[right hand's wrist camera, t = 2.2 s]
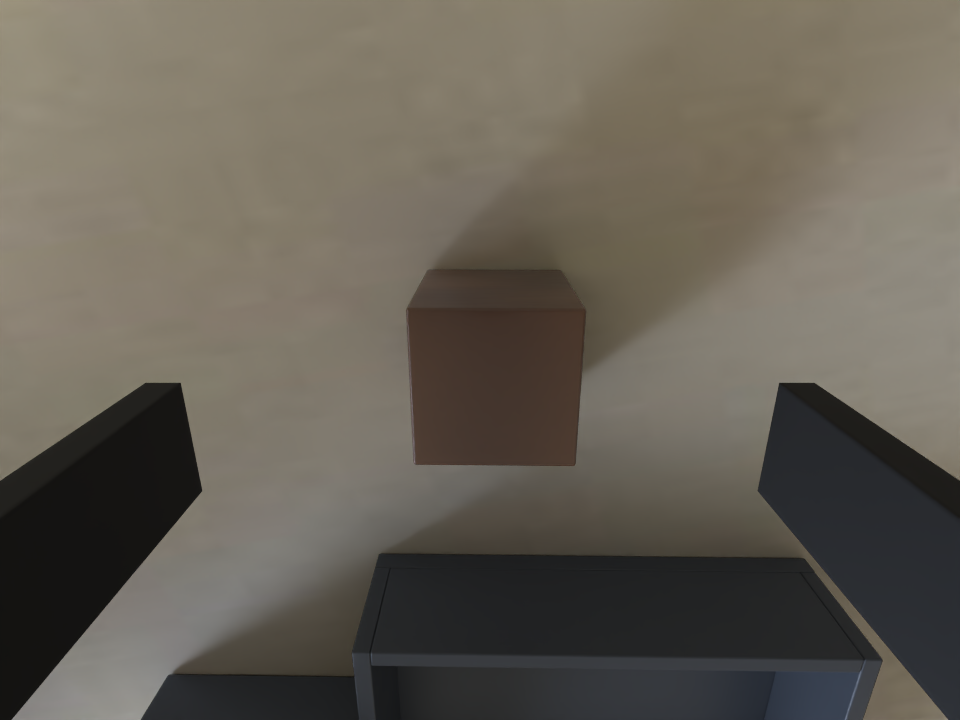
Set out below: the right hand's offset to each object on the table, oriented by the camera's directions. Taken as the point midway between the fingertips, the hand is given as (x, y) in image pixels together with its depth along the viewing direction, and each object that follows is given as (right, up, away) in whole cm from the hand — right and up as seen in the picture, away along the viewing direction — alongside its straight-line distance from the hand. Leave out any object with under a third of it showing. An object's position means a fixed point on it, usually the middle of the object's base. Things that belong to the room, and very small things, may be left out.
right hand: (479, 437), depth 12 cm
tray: (0, -13, +13) cm, 18 cm away
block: (0, +3, +7) cm, 7 cm away
